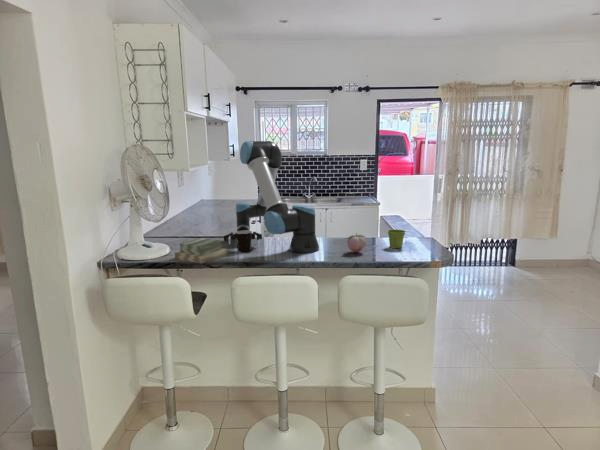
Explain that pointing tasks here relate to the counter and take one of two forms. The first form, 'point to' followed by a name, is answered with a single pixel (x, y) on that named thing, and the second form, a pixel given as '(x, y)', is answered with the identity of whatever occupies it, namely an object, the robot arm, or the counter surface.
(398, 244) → the plant pot
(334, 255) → the counter surface
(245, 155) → the robot arm
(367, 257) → the counter surface
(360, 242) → the decorative fruit
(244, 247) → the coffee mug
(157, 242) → the counter surface
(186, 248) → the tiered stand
